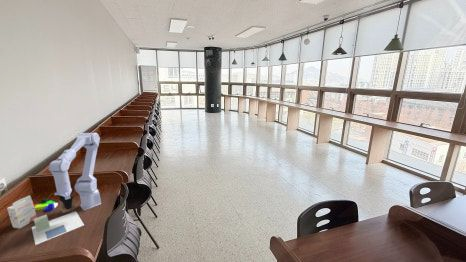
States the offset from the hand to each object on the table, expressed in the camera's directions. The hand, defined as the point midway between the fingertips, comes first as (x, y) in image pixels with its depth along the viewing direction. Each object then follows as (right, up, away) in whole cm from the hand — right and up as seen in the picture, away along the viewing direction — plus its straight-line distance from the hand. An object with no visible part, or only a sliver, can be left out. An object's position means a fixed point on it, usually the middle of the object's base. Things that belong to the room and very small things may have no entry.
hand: (67, 206), depth 115 cm
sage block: (-10, -10, -3) cm, 14 cm away
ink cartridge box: (-23, -9, +1) cm, 25 cm away
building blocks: (-26, -6, +16) cm, 31 cm away
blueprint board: (-3, -10, -2) cm, 10 cm away
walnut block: (0, -1, 0) cm, 1 cm away
